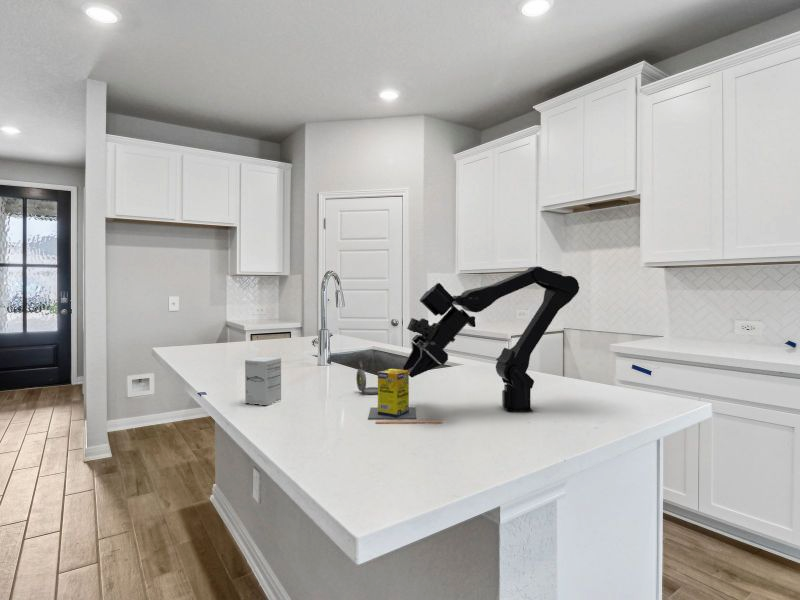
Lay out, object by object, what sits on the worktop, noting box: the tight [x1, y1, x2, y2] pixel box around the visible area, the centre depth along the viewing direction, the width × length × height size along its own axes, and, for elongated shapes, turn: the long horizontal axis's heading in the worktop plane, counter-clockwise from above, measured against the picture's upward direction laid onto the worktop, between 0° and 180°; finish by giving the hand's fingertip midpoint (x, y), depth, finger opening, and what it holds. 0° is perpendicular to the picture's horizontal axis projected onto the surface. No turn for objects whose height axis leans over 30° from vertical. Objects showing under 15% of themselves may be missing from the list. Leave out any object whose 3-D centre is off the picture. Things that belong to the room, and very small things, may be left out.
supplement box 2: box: [377, 368, 410, 417], centre depth 121 cm, size 6×6×11 cm
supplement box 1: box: [244, 356, 282, 406], centre depth 135 cm, size 7×7×13 cm
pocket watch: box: [355, 360, 378, 395], centre depth 146 cm, size 8×8×10 cm
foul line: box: [375, 420, 443, 425], centre depth 114 cm, size 16×1×1 cm, turn 90°
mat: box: [367, 406, 418, 421], centre depth 122 cm, size 12×10×1 cm
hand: (406, 372), depth 122 cm, fingers open, 9 cm apart
